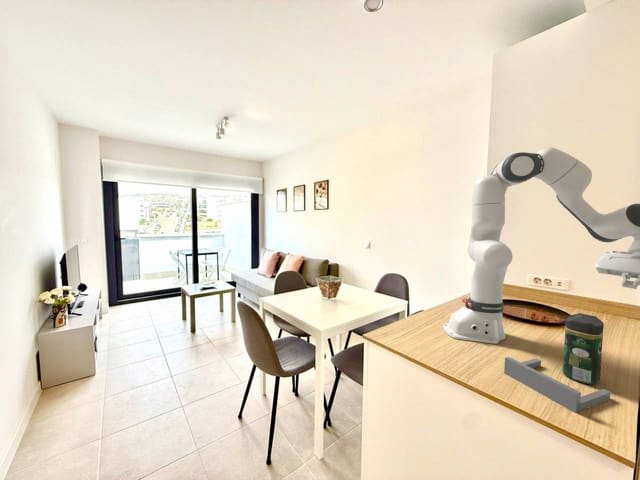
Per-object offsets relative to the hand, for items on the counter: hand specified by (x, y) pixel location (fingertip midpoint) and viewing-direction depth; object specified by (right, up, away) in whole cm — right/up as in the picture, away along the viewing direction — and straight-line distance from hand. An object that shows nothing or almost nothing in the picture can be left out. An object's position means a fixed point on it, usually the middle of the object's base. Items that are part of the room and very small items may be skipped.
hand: (628, 286), depth 85 cm
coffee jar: (-20, -26, -5) cm, 33 cm away
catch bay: (-31, -27, -9) cm, 42 cm away
